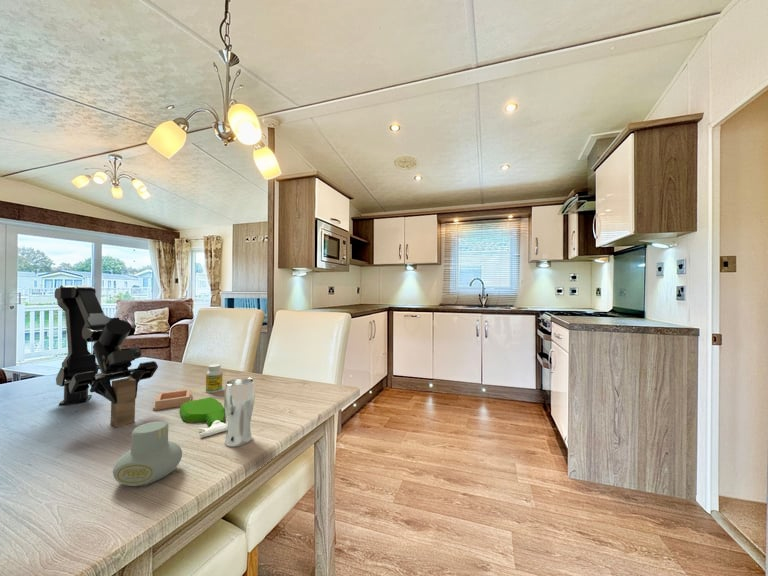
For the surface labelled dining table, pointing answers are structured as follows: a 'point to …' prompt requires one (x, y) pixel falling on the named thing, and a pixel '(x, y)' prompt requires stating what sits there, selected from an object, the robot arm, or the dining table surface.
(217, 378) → the supplement bottle
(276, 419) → the dining table surface
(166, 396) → the jar dish
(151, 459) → the air freshener
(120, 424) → the brown wooden block
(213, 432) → the spray bottle
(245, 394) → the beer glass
